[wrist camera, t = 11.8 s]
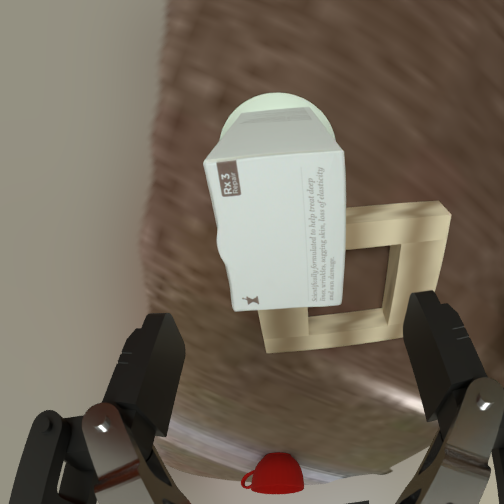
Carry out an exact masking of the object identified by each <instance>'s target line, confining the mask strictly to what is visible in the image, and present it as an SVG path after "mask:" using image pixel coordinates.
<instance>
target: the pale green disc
mask: <svg viewBox="0 0 504 504" xmlns="http://www.w3.org/2000/svg"><path fill="white" fill-rule="evenodd" d="M297 107H310V108H311V110H312V111H313V112H314V113H315V115H316V116H317V117H318V118H319V120H320V121H321V122H322V124H323V125H324V126H325V128H326V129H327V131H328V132H329V133H330V135H331V136H332V137H333V138H334V140H335V136H334V132H333V130H332V127H331V125H330V123H329V121H328V120H327V118H326V117H325V116H324V114H323V113H322V112H321V111H320V110H319V109H318V108H317V107H316V106H315V105H313V104H312V103H310V102H309V101H307V100H305V99H303V98H301V97H299V96H296V95H293V94H288V93H280V92H275V93H266V94H261V95H258V96H255V97H253V98H251V99H249V100H247V101H245V102H244V103H242V104H241V105H240V106H239V107H237V108H236V109H235V110H234V112H233V113H232V114H231V115H230V116H229V118H228V120H227V121H226V123H225V125H224V127H223V129H222V133H221V136H220V140H221V139H222V137H223V136H224V135H225V133H226V132H227V131H228V130H229V128H230V127H231V126H232V124H233V123H234V122H235V121H236V119H237V118H238V117H239V116H240V114H241V113H245V112H253V111H262V110H272V109H284V108H297Z"/></svg>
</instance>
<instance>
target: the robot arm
mask: <svg viewBox="0 0 504 504" xmlns="http://www.w3.org/2000/svg"><path fill="white" fill-rule="evenodd" d="M403 339H404V343H405V346H406V349H407V352H408V355H409V358H410V362H411V365H412V368H413V372H414V375H415V378H416V382H417V385H418V389H419V393H420V396H421V400H422V404H423V408H424V412H425V416H426V420H427V422H430V421H434V420H438V423H439V428H438V430H437V432H436V435H435V437H434V439H433V441H432V443H431V445H430V448H429V449H428V451H427V453H426V455H425V457H424V459H423V461H422V463H421V465H420V467H419V469H418V471H417V472H416V474H415V476H414V477H413V479H412V480H411V482H410V483H409V484H408V485H407V487H406V488H405V490H404V491H403V493H402V494H401V496H400V497H399V499H398V500H397V502H396V503H395V504H479V502H480V499H481V497H482V495H483V492H484V490H485V488H486V485H487V483H488V480H489V477H490V473H491V468H490V467H489V466H488V460H489V457H490V454H491V452H492V457H493V463H494V468H495V475H496V481H497V489H498V497H499V504H504V388H503V387H502V386H501V385H500V384H499V383H498V382H497V381H496V380H494V379H492V378H488V377H487V375H486V373H485V371H484V368H483V366H482V364H481V361H480V359H479V357H478V354H477V352H476V350H475V348H474V346H473V343H472V341H471V339H470V338H469V335H468V333H467V331H466V329H465V328H464V324H463V322H462V320H461V318H460V316H459V315H458V313H457V312H456V311H455V310H454V309H453V308H452V307H451V306H450V305H448V304H447V303H446V304H440V302H439V300H438V298H437V296H436V294H435V292H434V291H433V290H428V291H421V292H414V293H411V294H410V297H409V301H408V306H407V310H406V314H405V319H404V323H403ZM184 359H185V344H184V341H183V339H182V337H181V334H180V332H179V330H178V328H177V326H176V324H175V321H174V319H173V317H172V315H171V314H170V313H153V314H148V315H147V316H146V318H145V320H144V323H143V325H142V328H140V329H138V328H137V329H135V331H134V332H133V333H132V334H131V335H130V336H129V338H127V340H126V342H125V345H124V347H123V350H122V354H121V355H120V357H119V360H118V364H117V365H116V367H115V370H114V372H113V375H112V378H111V380H110V383H109V385H108V388H107V391H106V393H105V396H104V398H103V401H102V402H101V403H98V404H95V405H93V406H91V407H90V408H89V409H88V410H87V411H86V413H85V414H84V415H83V416H77V417H71V418H62V417H61V416H60V415H59V414H58V413H57V412H55V411H53V410H46V411H44V412H42V413H40V414H39V415H38V416H37V417H36V418H35V420H34V422H33V424H32V427H31V430H30V433H29V435H28V438H27V441H26V444H25V448H24V451H23V454H22V457H21V460H20V464H19V467H18V470H17V474H16V477H15V481H14V485H13V489H12V493H11V497H10V501H9V504H96V502H97V501H98V503H99V504H191V503H190V502H189V500H188V499H187V498H186V497H185V496H184V494H183V493H182V492H181V491H180V490H179V489H178V487H177V486H176V484H175V483H174V481H173V479H172V478H171V476H170V474H169V472H168V470H167V469H166V467H165V465H164V463H163V461H162V459H161V457H160V456H159V454H158V452H157V450H156V448H155V446H154V445H153V442H154V438H155V436H161V437H166V436H167V431H168V427H169V422H170V418H171V414H172V409H173V405H174V401H175V397H176V392H177V388H178V384H179V380H180V376H181V372H182V368H183V364H184ZM63 461H65V462H66V465H65V469H64V473H63V477H62V481H61V485H60V490H59V493H57V485H58V480H59V476H60V472H61V468H62V464H63ZM348 504H369V501H362V502H355V503H348Z"/></svg>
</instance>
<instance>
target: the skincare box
mask: <svg viewBox="0 0 504 504" xmlns="http://www.w3.org/2000/svg"><path fill="white" fill-rule="evenodd" d="M203 165H204V169H205V173H206V178H207V183H208V187H209V191H210V196H211V200H212V205H213V210H214V214H215V219H216V224H217V229H218V232H217V246H218V251H219V254H220V257H221V258H222V260H223V261H224V263H225V266H226V271H227V275H228V280H229V285H230V291H231V300H232V307H233V309H234V311H248V310H269V309H283V308H299V307H322V306H334V305H340V304H341V303H342V292H343V280H344V265H345V245H346V176H345V158H344V151H343V150H342V149H341V148H340V146H339V145H338V144H337V143H336V141H335V140H334V138H333V137H332V136H331V135H330V133H329V132H328V131H327V129H326V128H325V126H324V125H323V124H322V122H321V121H320V120H319V118H318V117H317V116H316V115H315V113H314V112H313V111H312V110H311V108H310V107H297V108H284V109H272V110H262V111H253V112H245V113H241V114H240V116H239V117H238V118H237V119H236V121H235V122H234V123H233V124H232V126H231V127H230V128H229V130H228V131H227V132H226V133H225V135H224V136H223V137H222V139H221V140H220V141H219V142H218V144H217V145H216V146H215V147H214V149H213V150H212V151H211V153H210V154H209V155H208V157H207V158H206V159H205V160H204V162H203Z"/></svg>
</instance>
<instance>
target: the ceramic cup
mask: <svg viewBox="0 0 504 504" xmlns="http://www.w3.org/2000/svg"><path fill="white" fill-rule="evenodd" d="M252 474H253V478H252V484H251V485H250V486H245V481H246V479H247V478H248V477H249V476H250V475H252ZM241 485H242V487H243V488H246V489H250V488H251V490H252V491H254V492H257V493H264V494H289V493H295V492H299V491H302V490H303V489H304V481H303V474H302V471H301V468H300V466H299V464H298V462H297V461H296V460H295V459H294V458H293V457H292V456H291V455H290V454H287V453H270V454H267V455H266V456H265V457H264V458H263V459H262V460H261V461H260V462H259V463H258V465H257V466H256V468H255V470H253V471H251V472H249V473H247V474H246V475H245V476H244V477H243V479H242V481H241Z"/></svg>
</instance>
